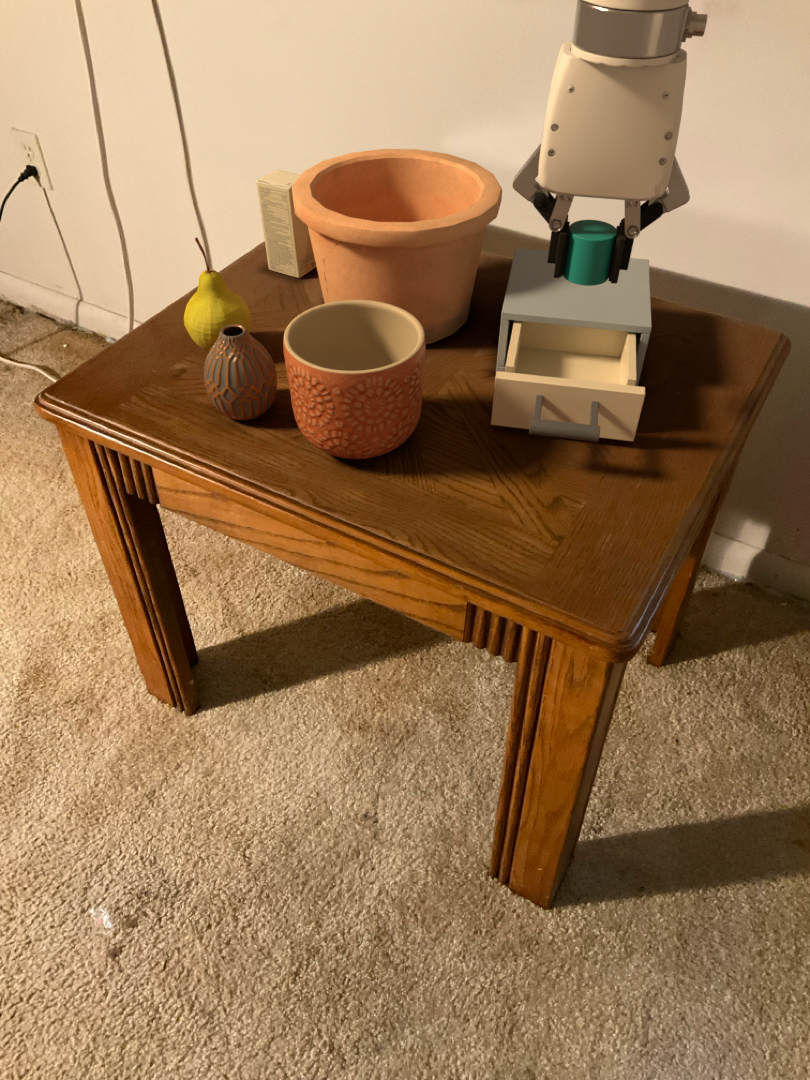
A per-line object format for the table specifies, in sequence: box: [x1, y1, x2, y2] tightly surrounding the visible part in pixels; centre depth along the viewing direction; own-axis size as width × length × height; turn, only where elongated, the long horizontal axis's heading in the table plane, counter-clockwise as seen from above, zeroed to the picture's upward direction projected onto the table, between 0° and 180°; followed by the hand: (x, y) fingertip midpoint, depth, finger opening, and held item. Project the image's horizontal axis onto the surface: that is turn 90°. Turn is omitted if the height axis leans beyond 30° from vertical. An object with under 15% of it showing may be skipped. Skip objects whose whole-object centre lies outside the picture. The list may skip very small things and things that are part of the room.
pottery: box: [292, 148, 503, 345], centre depth 90 cm, size 22×22×14 cm
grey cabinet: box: [495, 247, 653, 386], centre depth 88 cm, size 15×15×7 cm
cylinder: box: [562, 219, 617, 286], centre depth 69 cm, size 4×4×4 cm
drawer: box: [490, 320, 646, 443], centre depth 78 cm, size 19×13×5 cm
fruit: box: [183, 237, 252, 353], centre depth 85 cm, size 7×7×12 cm
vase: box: [203, 324, 278, 421], centre depth 78 cm, size 7×7×9 cm
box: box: [255, 168, 317, 279], centre depth 99 cm, size 5×4×11 cm
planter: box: [282, 300, 427, 460], centre depth 75 cm, size 12×12×11 cm
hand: (585, 271), depth 70 cm, fingers closed on cylinder, 4 cm apart
